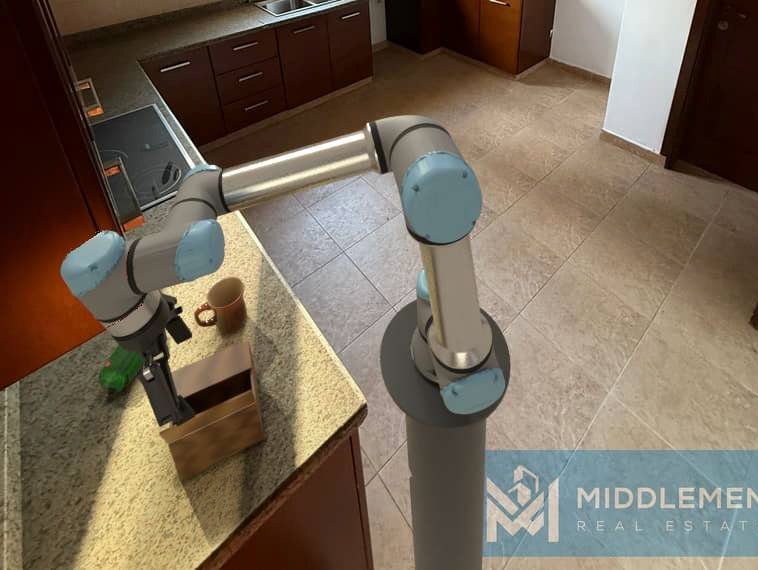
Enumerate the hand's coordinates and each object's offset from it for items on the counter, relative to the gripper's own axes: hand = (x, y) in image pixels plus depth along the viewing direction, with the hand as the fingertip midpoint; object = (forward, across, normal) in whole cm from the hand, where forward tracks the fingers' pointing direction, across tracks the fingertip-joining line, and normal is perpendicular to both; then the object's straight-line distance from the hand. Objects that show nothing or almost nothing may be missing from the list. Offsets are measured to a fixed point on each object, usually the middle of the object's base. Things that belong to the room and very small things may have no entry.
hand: (185, 376), depth 76 cm
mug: (+25, -22, +1) cm, 33 cm away
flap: (+6, +5, +2) cm, 8 cm away
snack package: (+22, -23, -18) cm, 37 cm away
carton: (+21, 0, 0) cm, 21 cm away
